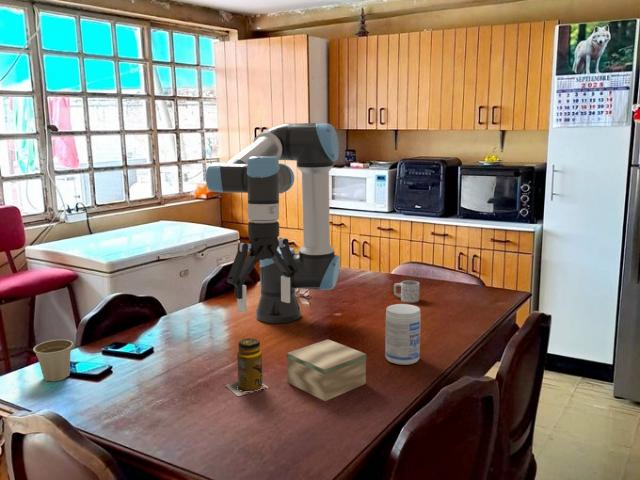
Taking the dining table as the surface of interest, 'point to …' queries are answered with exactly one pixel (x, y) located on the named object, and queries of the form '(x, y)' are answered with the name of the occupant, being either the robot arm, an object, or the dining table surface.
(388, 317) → the supplement tub
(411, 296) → the mug
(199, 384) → the dining table surface
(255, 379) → the condiment
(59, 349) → the flower pot
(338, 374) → the wooden box
